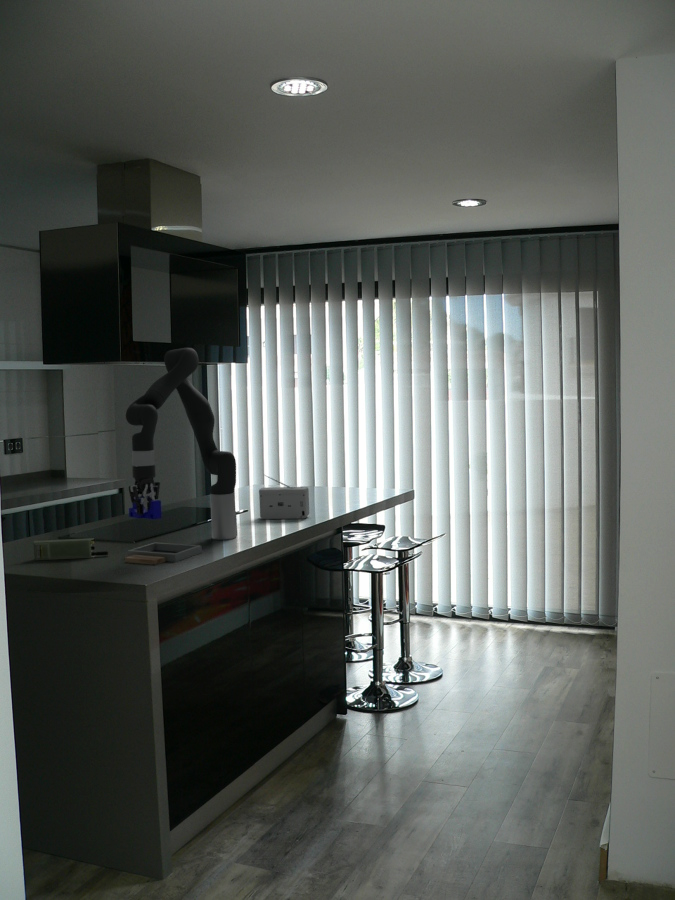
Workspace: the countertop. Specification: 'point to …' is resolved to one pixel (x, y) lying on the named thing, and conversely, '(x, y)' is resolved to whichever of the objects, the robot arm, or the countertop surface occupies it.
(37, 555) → the handheld radio
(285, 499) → the stereo radio cassette player
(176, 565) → the countertop surface
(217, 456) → the robot arm
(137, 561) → the walnut pad
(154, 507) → the cable clip
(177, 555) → the grey shallow tray
